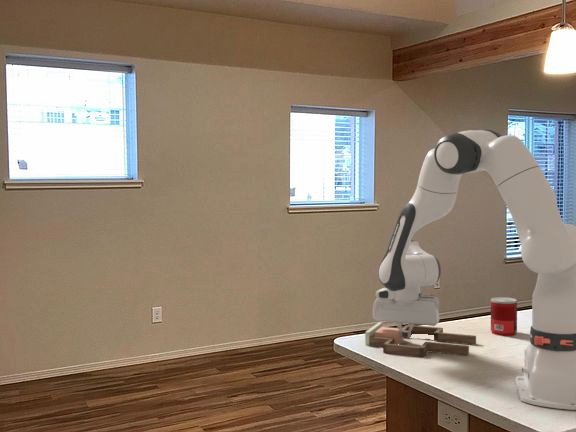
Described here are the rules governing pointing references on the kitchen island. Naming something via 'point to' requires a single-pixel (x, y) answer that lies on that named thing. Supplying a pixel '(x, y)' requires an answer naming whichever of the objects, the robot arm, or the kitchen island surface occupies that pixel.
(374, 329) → the box
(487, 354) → the kitchen island surface
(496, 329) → the canned food
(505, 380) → the kitchen island surface
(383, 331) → the block
